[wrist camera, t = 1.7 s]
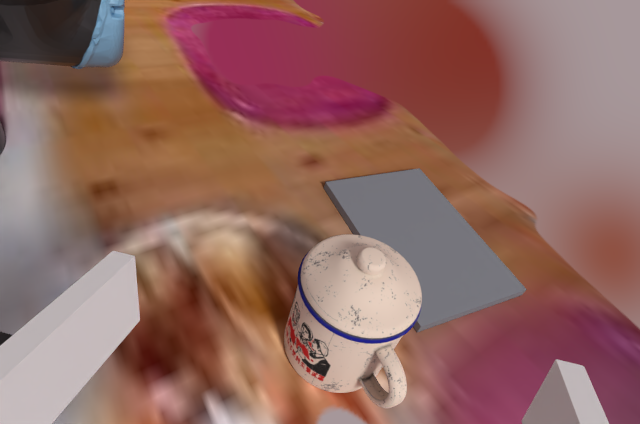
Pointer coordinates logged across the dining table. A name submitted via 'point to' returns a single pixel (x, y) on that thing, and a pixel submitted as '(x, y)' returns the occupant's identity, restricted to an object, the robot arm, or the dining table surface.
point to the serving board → (426, 242)
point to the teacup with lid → (352, 317)
